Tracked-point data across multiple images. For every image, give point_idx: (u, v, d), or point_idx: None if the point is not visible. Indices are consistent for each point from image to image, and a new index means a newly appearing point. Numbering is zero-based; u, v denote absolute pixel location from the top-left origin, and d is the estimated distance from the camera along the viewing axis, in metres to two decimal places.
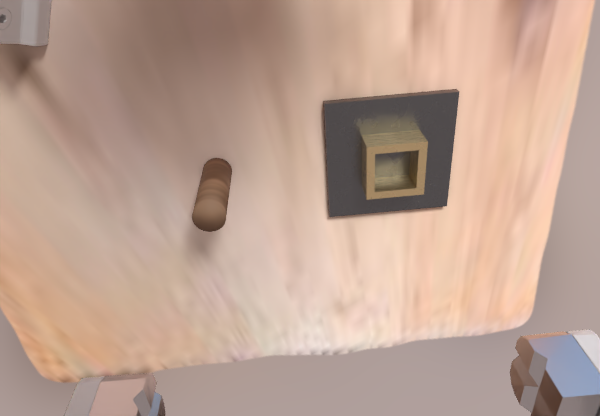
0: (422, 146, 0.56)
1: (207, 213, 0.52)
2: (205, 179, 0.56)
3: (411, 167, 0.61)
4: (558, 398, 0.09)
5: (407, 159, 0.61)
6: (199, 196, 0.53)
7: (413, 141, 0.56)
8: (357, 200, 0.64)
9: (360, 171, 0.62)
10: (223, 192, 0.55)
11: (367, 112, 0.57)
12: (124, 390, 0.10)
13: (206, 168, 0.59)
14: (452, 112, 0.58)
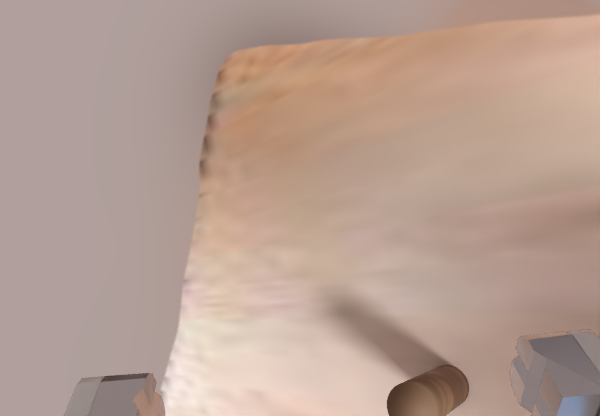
0: None
1: (418, 410, 0.35)
2: (453, 392, 0.40)
3: None
4: (558, 398, 0.09)
5: None
6: (440, 394, 0.37)
7: None
8: None
9: None
10: None
11: None
12: (124, 390, 0.10)
13: (461, 383, 0.42)
14: None
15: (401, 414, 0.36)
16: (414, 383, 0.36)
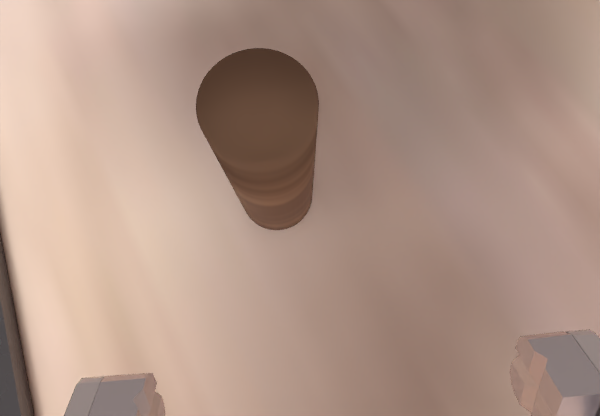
0: None
1: (263, 122, 0.14)
2: (299, 196, 0.20)
3: None
4: (558, 398, 0.09)
5: None
6: (306, 163, 0.16)
7: None
8: None
9: None
10: (235, 182, 0.17)
11: None
12: (124, 390, 0.10)
13: (303, 208, 0.23)
14: None
15: (230, 93, 0.14)
16: None
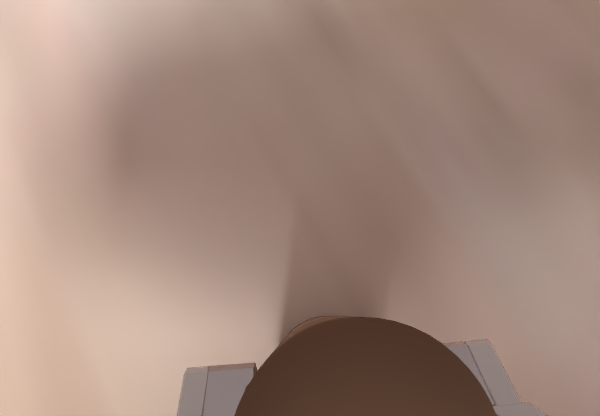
0: None
1: None
2: None
3: None
4: None
5: None
6: None
7: None
8: None
9: None
10: None
11: None
12: (234, 379, 0.10)
13: None
14: None
15: None
16: (491, 415, 0.06)
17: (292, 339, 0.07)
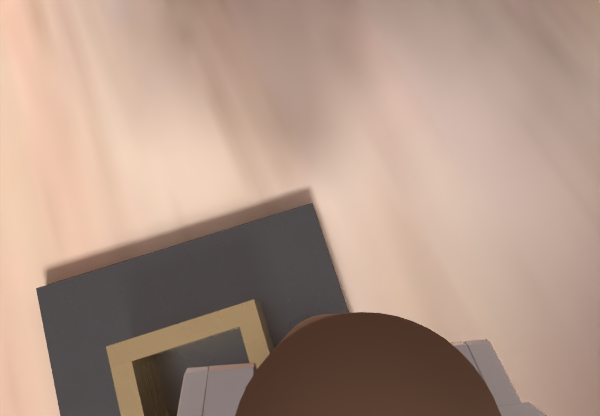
0: None
1: None
2: None
3: (156, 385, 0.25)
4: None
5: (171, 396, 0.25)
6: None
7: None
8: (259, 259, 0.27)
9: (274, 339, 0.26)
10: None
11: None
12: (234, 379, 0.10)
13: None
14: None
15: None
16: (493, 411, 0.06)
17: (294, 334, 0.07)
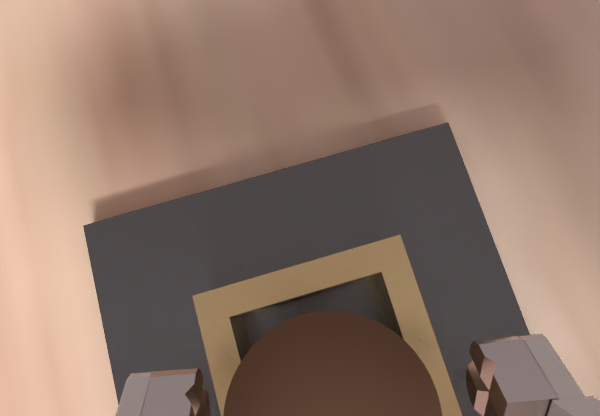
0: None
1: None
2: None
3: None
4: (503, 403, 0.09)
5: None
6: None
7: None
8: (381, 193, 0.20)
9: None
10: None
11: None
12: (175, 385, 0.10)
13: None
14: None
15: (284, 399, 0.08)
16: None
17: (274, 328, 0.08)
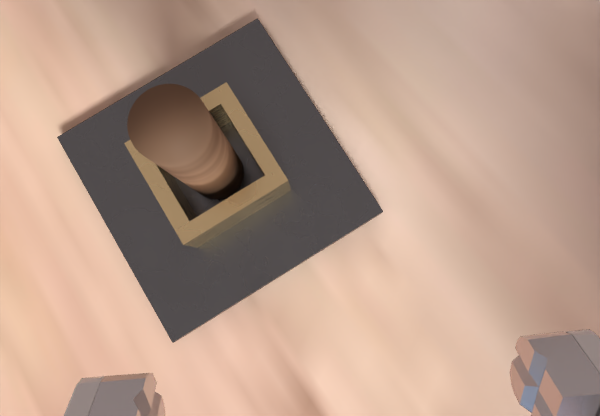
0: (187, 231, 0.28)
1: (174, 134, 0.21)
2: (225, 171, 0.27)
3: (171, 177, 0.31)
4: (558, 398, 0.09)
5: (186, 187, 0.32)
6: (215, 150, 0.23)
7: (208, 230, 0.28)
8: (227, 71, 0.33)
9: (253, 126, 0.33)
10: (173, 175, 0.24)
11: (304, 232, 0.31)
12: (124, 390, 0.10)
13: (235, 178, 0.30)
14: (161, 304, 0.31)
15: (148, 120, 0.21)
16: (203, 103, 0.21)
17: (139, 97, 0.21)
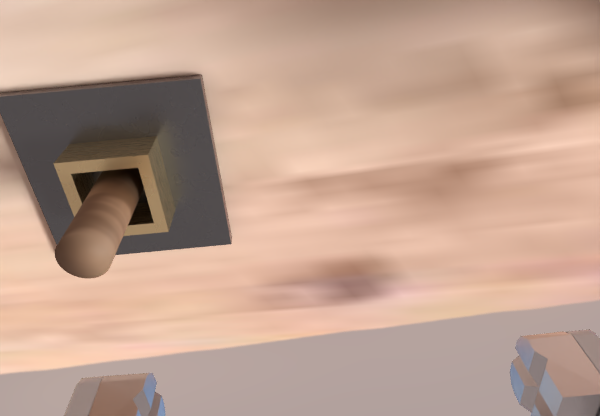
0: (160, 226, 0.40)
1: (92, 256, 0.32)
2: (126, 200, 0.37)
3: None
4: (558, 398, 0.09)
5: None
6: (110, 223, 0.34)
7: (165, 213, 0.40)
8: (39, 139, 0.39)
9: (94, 139, 0.39)
10: None
11: (193, 140, 0.40)
12: (124, 390, 0.10)
13: (133, 178, 0.39)
14: (204, 241, 0.45)
15: (78, 266, 0.32)
16: (75, 234, 0.31)
17: (60, 265, 0.32)
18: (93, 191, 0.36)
